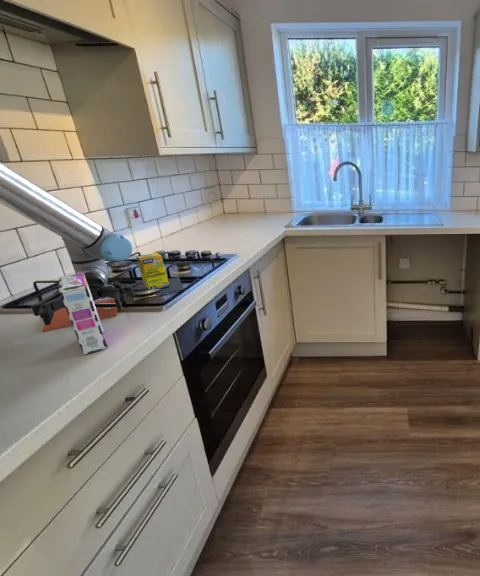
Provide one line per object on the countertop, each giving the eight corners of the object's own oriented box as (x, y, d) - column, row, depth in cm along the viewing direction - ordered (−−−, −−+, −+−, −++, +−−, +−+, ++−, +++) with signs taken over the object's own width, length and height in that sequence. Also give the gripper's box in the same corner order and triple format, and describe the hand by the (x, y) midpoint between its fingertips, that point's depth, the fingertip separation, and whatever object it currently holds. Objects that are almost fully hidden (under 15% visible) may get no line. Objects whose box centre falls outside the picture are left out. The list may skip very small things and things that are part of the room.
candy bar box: (109, 348, 86) (86, 284, 79) (83, 356, 83) (57, 290, 77) (105, 331, 94) (84, 271, 87) (81, 337, 91) (57, 276, 85)
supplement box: (150, 292, 116) (140, 259, 112) (144, 287, 120) (135, 256, 115) (170, 286, 120) (161, 255, 116) (164, 282, 124) (155, 252, 119)
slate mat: (133, 301, 111) (132, 299, 111) (133, 287, 122) (132, 285, 122) (183, 290, 118) (183, 289, 118) (179, 278, 129) (178, 276, 129)
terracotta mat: (42, 332, 94) (41, 330, 94) (51, 312, 105) (51, 310, 105) (116, 315, 102) (116, 313, 102) (118, 299, 113) (117, 297, 113)
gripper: (145, 286, 109) (149, 312, 92) (36, 307, 96) (18, 341, 80) (138, 263, 106) (140, 285, 89) (25, 281, 93) (3, 311, 77)
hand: (83, 311), depth 85 cm, fingers open, 13 cm apart
